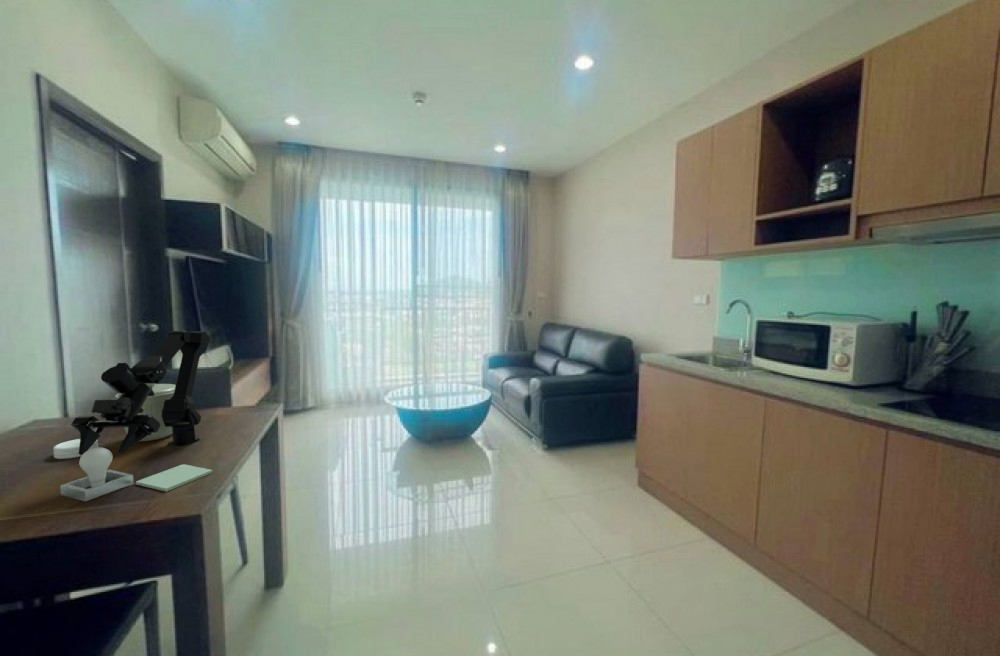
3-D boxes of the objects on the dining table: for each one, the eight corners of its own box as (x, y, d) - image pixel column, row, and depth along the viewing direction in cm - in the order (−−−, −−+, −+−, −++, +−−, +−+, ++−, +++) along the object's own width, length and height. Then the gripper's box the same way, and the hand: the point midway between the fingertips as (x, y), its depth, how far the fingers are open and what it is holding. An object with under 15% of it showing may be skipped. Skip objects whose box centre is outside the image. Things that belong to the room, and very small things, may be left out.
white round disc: (55, 453, 130) (54, 442, 130) (98, 445, 137) (98, 435, 137) (52, 462, 123) (51, 451, 123) (98, 453, 130) (97, 443, 130)
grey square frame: (61, 494, 103) (60, 485, 102) (109, 478, 112) (109, 469, 112) (85, 501, 99) (84, 491, 99) (133, 483, 109) (132, 474, 109)
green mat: (135, 484, 109) (135, 481, 108) (183, 466, 120) (183, 464, 120) (166, 491, 105) (166, 488, 105) (212, 472, 116) (212, 470, 116)
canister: (174, 442, 140) (171, 381, 138) (107, 449, 133) (102, 385, 132) (192, 426, 157) (189, 372, 155) (132, 431, 150) (129, 375, 148)
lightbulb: (75, 496, 102) (71, 453, 101) (92, 485, 108) (89, 445, 107) (104, 493, 104) (101, 451, 103) (120, 482, 109) (117, 443, 109)
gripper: (74, 387, 109) (36, 441, 99) (150, 385, 112) (120, 438, 101) (101, 408, 118) (68, 460, 107) (171, 406, 120) (145, 457, 110)
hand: (100, 453), depth 106 cm, fingers open, 9 cm apart
